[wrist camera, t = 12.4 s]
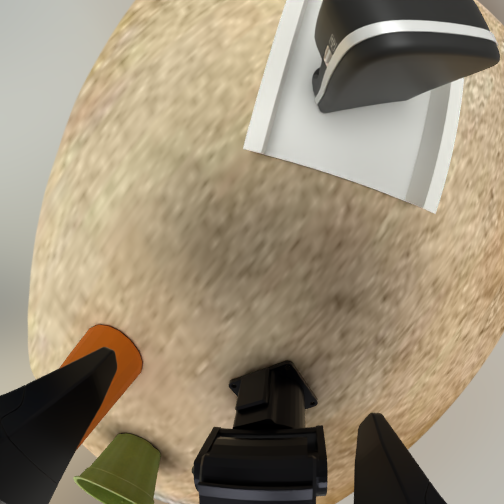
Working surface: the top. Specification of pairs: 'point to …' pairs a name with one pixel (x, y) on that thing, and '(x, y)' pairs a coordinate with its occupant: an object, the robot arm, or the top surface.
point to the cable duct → (351, 122)
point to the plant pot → (123, 472)
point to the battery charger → (396, 49)
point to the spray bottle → (126, 364)
